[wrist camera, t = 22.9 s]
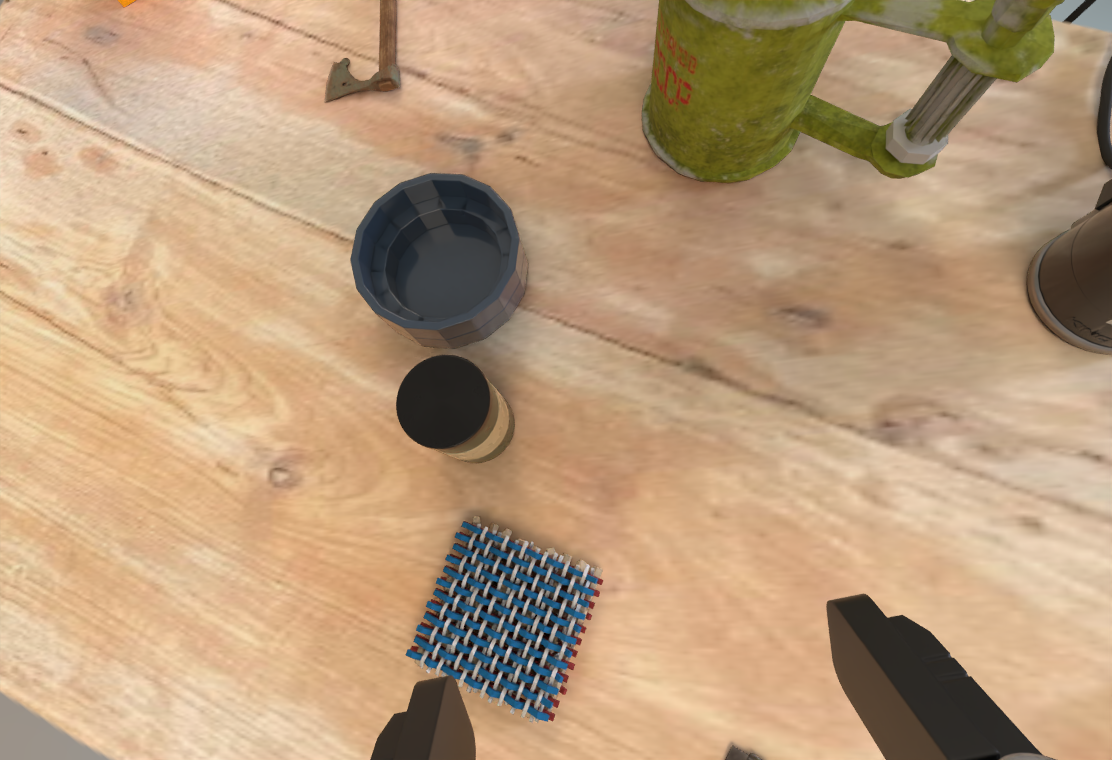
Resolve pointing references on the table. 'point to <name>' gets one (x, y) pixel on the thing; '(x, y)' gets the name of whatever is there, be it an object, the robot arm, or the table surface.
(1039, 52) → the blowtorch
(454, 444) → the green tin
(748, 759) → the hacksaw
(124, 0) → the orange juice
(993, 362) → the table surface
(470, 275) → the slate bowl
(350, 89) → the tomahawk
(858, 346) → the table surface
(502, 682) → the woven mat
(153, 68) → the table surface
